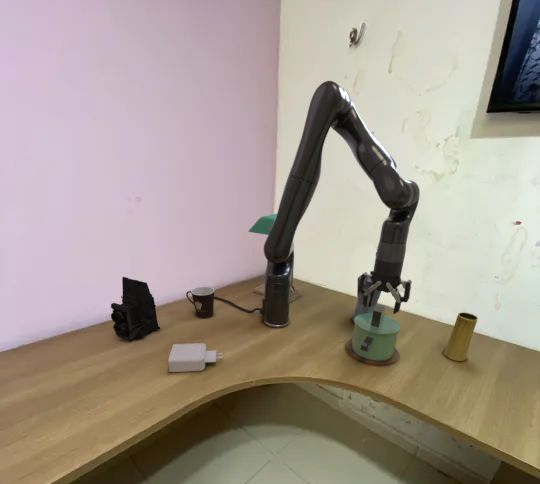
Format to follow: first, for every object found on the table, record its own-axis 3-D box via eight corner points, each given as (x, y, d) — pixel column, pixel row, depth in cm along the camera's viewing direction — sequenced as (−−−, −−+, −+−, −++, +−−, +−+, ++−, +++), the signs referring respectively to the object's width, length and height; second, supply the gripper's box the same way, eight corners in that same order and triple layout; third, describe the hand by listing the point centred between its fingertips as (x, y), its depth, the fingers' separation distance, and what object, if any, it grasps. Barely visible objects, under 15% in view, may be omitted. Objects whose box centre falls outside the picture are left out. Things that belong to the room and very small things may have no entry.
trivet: (339, 354, 98) (339, 353, 97) (355, 334, 110) (355, 332, 110) (391, 372, 90) (392, 370, 90) (402, 347, 102) (403, 346, 102)
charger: (223, 371, 89) (169, 374, 87) (224, 354, 97) (175, 355, 96) (222, 357, 87) (167, 360, 85) (223, 341, 95) (173, 342, 94)
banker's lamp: (286, 304, 131) (290, 220, 116) (246, 293, 142) (246, 214, 126) (303, 293, 143) (309, 215, 128) (266, 284, 154) (267, 210, 138)
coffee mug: (220, 315, 121) (218, 291, 117) (200, 321, 116) (198, 297, 112) (205, 305, 129) (203, 283, 125) (186, 311, 124) (183, 287, 120)
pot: (357, 334, 108) (364, 295, 102) (398, 346, 102) (408, 305, 95) (338, 360, 93) (344, 317, 87) (384, 376, 87) (394, 330, 81)
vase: (463, 353, 100) (477, 313, 94) (467, 363, 95) (482, 322, 89) (442, 349, 102) (454, 310, 96) (445, 359, 97) (458, 318, 91)
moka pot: (373, 314, 125) (382, 266, 116) (381, 332, 111) (392, 280, 102) (349, 312, 126) (356, 265, 117) (354, 331, 112) (363, 278, 103)
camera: (110, 339, 103) (96, 282, 94) (142, 323, 114) (132, 270, 105) (131, 347, 99) (119, 289, 90) (162, 329, 110) (154, 275, 101)
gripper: (419, 258, 86) (407, 310, 93) (368, 250, 93) (360, 300, 100) (414, 264, 80) (402, 320, 87) (360, 256, 87) (353, 308, 94)
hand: (380, 309), depth 94 cm, fingers open, 8 cm apart
